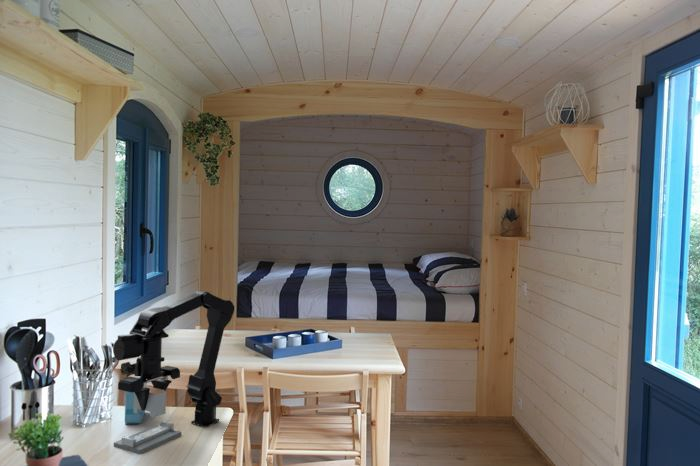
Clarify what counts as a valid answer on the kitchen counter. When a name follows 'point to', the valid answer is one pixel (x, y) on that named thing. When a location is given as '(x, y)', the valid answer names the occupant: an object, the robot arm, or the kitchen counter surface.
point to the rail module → (153, 403)
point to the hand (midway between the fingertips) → (149, 407)
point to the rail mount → (148, 438)
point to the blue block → (131, 409)
